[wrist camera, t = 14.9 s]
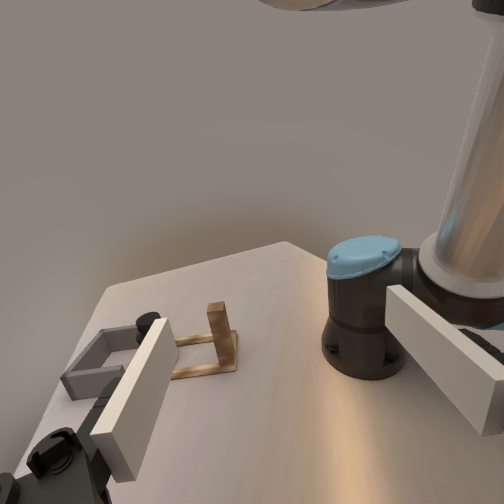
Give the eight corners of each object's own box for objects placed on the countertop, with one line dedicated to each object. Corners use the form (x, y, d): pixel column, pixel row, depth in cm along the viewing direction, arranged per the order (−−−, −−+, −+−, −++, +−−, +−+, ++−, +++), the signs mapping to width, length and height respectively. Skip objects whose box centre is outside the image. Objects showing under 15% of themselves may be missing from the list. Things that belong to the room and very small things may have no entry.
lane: (72, 400, 49) (59, 377, 47) (109, 348, 62) (101, 329, 60) (129, 392, 49) (119, 369, 47) (154, 342, 62) (147, 323, 60)
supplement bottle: (140, 368, 55) (123, 323, 50) (165, 347, 60) (151, 305, 56) (159, 379, 51) (142, 332, 47) (184, 356, 56) (171, 312, 52)
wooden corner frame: (132, 384, 50) (107, 326, 45) (151, 346, 60) (133, 295, 56) (236, 370, 50) (222, 310, 45) (237, 334, 60) (226, 282, 55)
